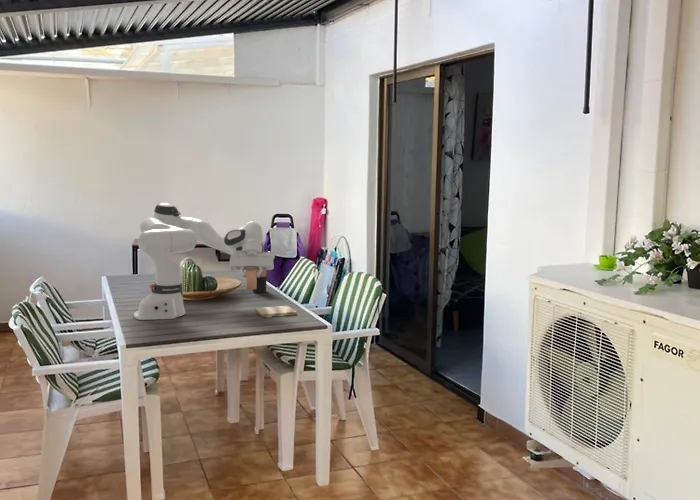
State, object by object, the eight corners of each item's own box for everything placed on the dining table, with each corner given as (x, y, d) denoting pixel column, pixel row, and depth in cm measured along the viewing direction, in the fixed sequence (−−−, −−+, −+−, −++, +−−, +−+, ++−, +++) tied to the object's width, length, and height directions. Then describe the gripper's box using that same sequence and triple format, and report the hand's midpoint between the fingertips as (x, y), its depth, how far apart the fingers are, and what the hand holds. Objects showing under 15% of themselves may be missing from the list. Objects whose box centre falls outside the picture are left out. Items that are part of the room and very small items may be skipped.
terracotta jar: (247, 290, 295) (247, 268, 294) (244, 287, 300) (244, 266, 298) (258, 289, 297) (257, 267, 296) (255, 287, 302) (254, 265, 300)
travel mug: (249, 292, 347) (249, 254, 344) (257, 289, 354) (257, 253, 351) (261, 293, 344) (261, 256, 341) (269, 291, 350) (269, 254, 347)
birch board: (263, 317, 293) (263, 314, 293) (255, 311, 305) (255, 308, 304) (296, 314, 299) (296, 311, 299) (288, 308, 311) (288, 305, 311)
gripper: (274, 255, 308) (274, 280, 300) (231, 255, 307) (229, 280, 299) (274, 248, 303) (273, 272, 295) (230, 247, 302) (228, 272, 294)
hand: (251, 276), depth 297 cm, fingers closed on terracotta jar, 5 cm apart
